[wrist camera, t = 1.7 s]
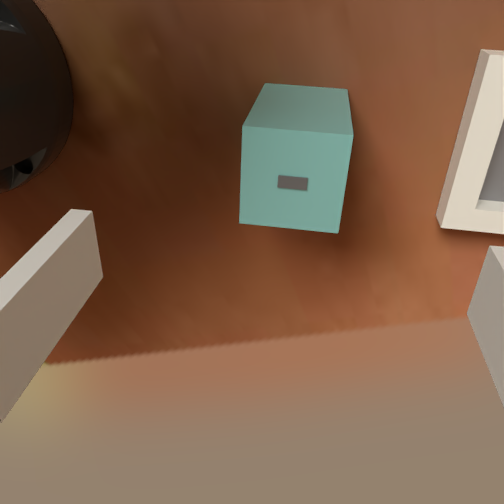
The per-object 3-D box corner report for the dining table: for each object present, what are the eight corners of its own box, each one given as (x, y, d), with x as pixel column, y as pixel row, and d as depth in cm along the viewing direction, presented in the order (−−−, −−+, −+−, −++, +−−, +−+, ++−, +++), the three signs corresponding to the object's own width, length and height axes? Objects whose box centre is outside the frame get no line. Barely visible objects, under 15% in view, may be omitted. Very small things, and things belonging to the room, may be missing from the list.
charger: (260, 160, 32) (238, 224, 24) (265, 83, 29) (242, 126, 22) (336, 167, 32) (338, 234, 24) (347, 89, 29) (353, 135, 21)
